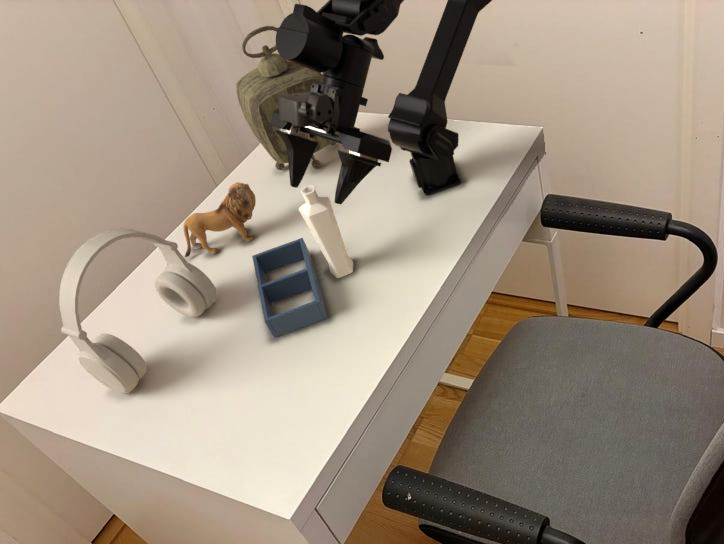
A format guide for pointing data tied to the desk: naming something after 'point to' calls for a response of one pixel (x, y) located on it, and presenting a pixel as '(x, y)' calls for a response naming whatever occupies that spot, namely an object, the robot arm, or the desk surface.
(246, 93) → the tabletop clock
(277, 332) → the box
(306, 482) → the desk surface
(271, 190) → the desk surface
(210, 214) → the lion figurine
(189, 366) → the desk surface
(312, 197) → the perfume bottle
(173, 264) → the headphones
